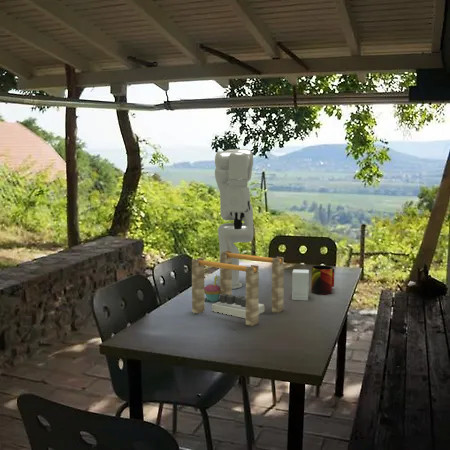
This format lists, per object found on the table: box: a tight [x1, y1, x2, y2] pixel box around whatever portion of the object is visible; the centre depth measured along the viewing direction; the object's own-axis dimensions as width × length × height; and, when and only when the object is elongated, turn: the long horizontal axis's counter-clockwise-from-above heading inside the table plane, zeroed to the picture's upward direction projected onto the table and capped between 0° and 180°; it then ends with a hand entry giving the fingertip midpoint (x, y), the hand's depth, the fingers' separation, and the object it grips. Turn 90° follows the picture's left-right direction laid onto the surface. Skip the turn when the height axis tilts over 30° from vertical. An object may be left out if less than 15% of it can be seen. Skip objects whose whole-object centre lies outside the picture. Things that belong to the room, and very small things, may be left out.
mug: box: [310, 265, 335, 296], centre depth 236 cm, size 10×14×12 cm
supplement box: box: [291, 268, 310, 302], centre depth 223 cm, size 7×7×13 cm
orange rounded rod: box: [199, 260, 256, 273], centre depth 194 cm, size 29×2×2 cm, turn 55°
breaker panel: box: [211, 294, 265, 319], centre depth 204 cm, size 18×12×6 cm, turn 55°
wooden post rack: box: [191, 251, 285, 327], centre depth 203 cm, size 29×24×22 cm
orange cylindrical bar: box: [227, 253, 282, 264], centre depth 210 cm, size 29×2×2 cm, turn 55°
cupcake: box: [204, 274, 221, 302], centre depth 221 cm, size 9×8×12 cm
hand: (237, 228), depth 201 cm, fingers closed
